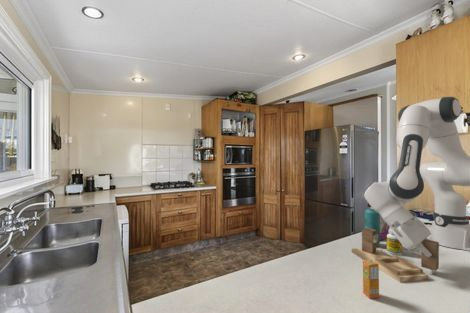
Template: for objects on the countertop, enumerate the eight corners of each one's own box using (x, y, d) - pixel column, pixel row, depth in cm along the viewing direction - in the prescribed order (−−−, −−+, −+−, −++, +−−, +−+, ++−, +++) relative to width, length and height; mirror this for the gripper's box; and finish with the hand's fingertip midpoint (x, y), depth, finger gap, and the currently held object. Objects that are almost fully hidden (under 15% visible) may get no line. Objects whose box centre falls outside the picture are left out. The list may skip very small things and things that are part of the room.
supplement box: (361, 292, 70) (361, 259, 70) (372, 291, 71) (372, 258, 71) (368, 299, 67) (369, 264, 67) (379, 298, 67) (380, 264, 67)
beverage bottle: (376, 242, 111) (376, 200, 111) (383, 248, 105) (383, 203, 105) (361, 241, 112) (362, 200, 112) (368, 247, 105) (368, 203, 105)
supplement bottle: (400, 251, 101) (401, 229, 101) (402, 256, 96) (402, 233, 96) (386, 249, 104) (386, 227, 104) (387, 253, 99) (387, 230, 99)
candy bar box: (378, 241, 113) (379, 207, 113) (368, 238, 118) (368, 205, 118) (390, 237, 119) (390, 205, 119) (380, 234, 124) (380, 203, 123)
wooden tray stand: (374, 250, 102) (374, 226, 102) (428, 279, 78) (428, 248, 78) (351, 252, 100) (351, 227, 100) (399, 282, 76) (400, 250, 76)
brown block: (421, 262, 86) (421, 238, 86) (438, 267, 82) (438, 242, 82) (418, 265, 83) (418, 240, 83) (435, 271, 80) (436, 244, 80)
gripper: (397, 220, 81) (433, 257, 74) (414, 211, 94) (447, 242, 86) (382, 229, 85) (415, 266, 77) (401, 220, 98) (431, 250, 90)
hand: (432, 253), depth 82 cm, fingers closed on brown block, 4 cm apart
